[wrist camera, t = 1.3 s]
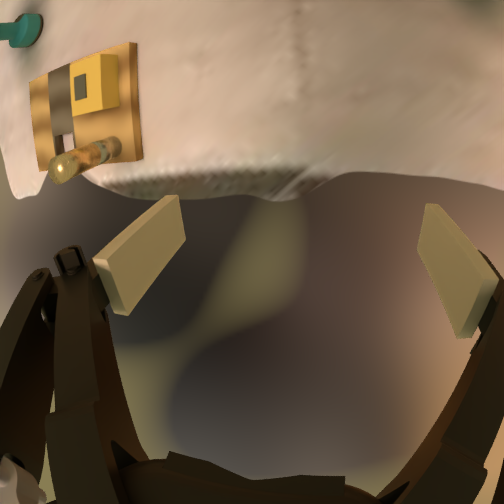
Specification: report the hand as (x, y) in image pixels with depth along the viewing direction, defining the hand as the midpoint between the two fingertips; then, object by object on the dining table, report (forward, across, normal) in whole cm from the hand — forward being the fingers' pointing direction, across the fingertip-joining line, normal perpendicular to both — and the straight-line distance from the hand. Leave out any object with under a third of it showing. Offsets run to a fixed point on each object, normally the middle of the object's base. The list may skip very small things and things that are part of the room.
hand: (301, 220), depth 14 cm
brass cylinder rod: (+22, -28, +2) cm, 35 cm away
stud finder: (+22, -28, +12) cm, 37 cm away
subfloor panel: (+24, -35, +9) cm, 43 cm away
